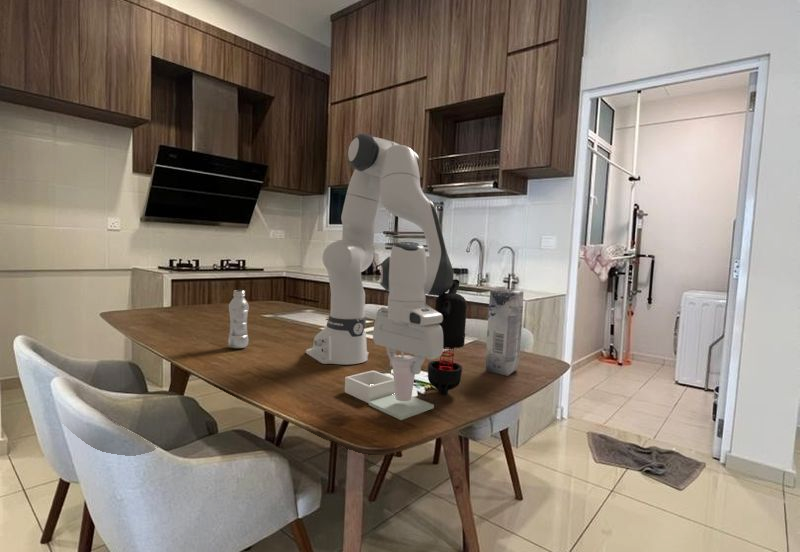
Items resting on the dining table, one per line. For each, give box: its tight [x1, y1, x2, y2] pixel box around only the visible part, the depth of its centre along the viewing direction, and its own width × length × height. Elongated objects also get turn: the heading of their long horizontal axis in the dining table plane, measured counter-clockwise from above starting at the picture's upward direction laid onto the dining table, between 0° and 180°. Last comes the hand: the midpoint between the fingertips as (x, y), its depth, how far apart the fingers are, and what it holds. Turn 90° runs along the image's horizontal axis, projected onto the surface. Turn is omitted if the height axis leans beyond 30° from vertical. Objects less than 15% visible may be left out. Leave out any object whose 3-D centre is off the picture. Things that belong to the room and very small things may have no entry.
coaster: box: [368, 394, 435, 421], centre depth 101 cm, size 11×11×1 cm
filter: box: [427, 278, 468, 396], centre depth 108 cm, size 14×9×30 cm
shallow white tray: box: [344, 370, 395, 404], centre depth 108 cm, size 10×10×4 cm
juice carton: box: [485, 285, 524, 377], centre depth 133 cm, size 9×10×27 cm
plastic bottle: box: [227, 289, 250, 350], centre depth 145 cm, size 6×7×20 cm
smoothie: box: [391, 351, 416, 401], centre depth 100 cm, size 6×6×14 cm
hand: (404, 369), depth 100 cm, fingers closed on smoothie, 6 cm apart
